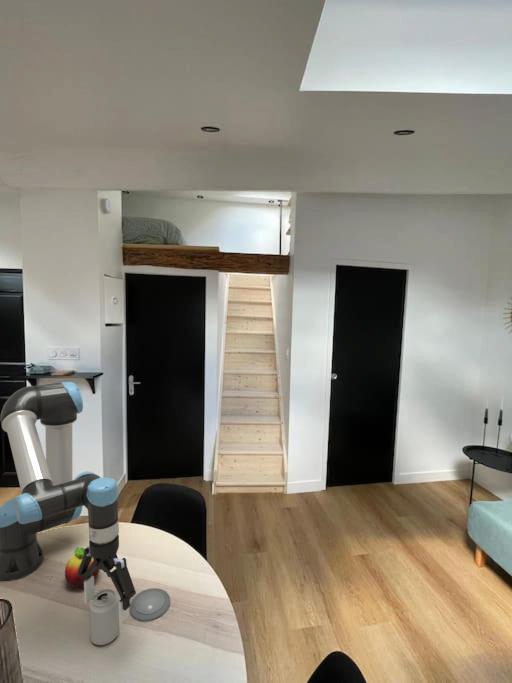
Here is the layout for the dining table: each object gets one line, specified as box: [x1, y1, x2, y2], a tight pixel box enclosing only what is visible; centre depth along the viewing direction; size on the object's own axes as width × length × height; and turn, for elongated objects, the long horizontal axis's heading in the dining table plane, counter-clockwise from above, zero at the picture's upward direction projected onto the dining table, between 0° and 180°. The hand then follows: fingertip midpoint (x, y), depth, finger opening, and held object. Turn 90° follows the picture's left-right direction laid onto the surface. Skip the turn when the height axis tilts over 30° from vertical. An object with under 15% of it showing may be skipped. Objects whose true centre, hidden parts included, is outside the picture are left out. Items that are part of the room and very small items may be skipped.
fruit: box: [64, 546, 100, 588], centre depth 126 cm, size 11×11×10 cm
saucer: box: [129, 587, 171, 622], centre depth 117 cm, size 12×12×1 cm
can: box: [89, 588, 120, 646], centre depth 105 cm, size 8×8×12 cm
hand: (106, 609), depth 105 cm, fingers open, 13 cm apart
